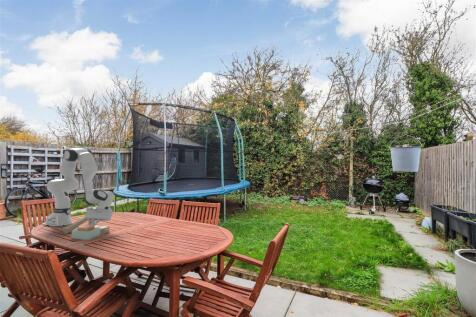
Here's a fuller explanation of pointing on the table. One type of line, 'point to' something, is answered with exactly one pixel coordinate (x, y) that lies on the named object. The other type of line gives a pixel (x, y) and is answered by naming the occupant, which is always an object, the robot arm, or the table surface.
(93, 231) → the box
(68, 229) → the hammer
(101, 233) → the board
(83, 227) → the block
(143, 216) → the table surface
